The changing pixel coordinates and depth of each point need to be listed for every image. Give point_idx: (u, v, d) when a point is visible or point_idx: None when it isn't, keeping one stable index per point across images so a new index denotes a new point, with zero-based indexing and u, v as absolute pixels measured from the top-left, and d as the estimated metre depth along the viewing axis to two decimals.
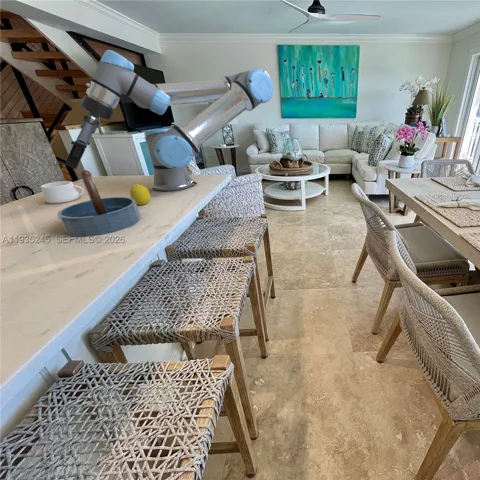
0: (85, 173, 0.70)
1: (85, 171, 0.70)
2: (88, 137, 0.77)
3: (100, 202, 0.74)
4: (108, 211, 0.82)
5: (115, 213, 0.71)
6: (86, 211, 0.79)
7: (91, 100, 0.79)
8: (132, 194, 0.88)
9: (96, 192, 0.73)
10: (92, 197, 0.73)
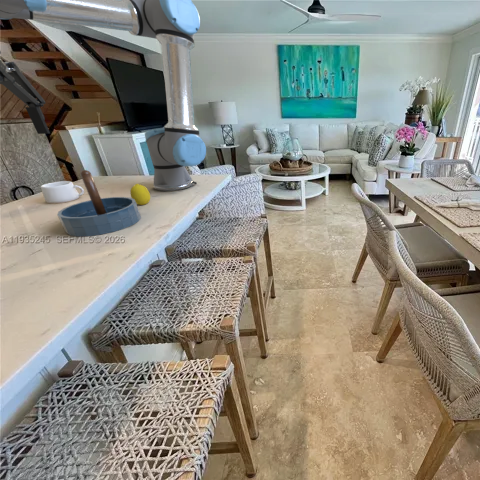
0: (85, 173, 0.70)
1: (85, 171, 0.70)
2: None
3: (100, 202, 0.74)
4: (108, 211, 0.82)
5: (115, 213, 0.71)
6: (86, 211, 0.79)
7: None
8: (132, 194, 0.88)
9: (96, 192, 0.73)
10: (92, 197, 0.73)
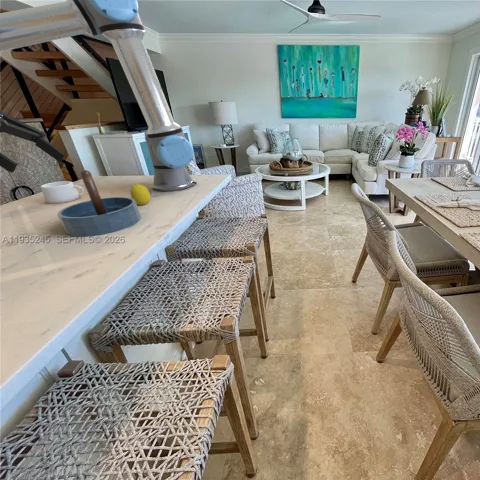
0: (85, 173, 0.70)
1: (85, 171, 0.70)
2: None
3: (100, 202, 0.74)
4: (108, 211, 0.82)
5: (115, 213, 0.71)
6: (86, 211, 0.79)
7: None
8: (132, 194, 0.88)
9: (96, 192, 0.73)
10: (92, 197, 0.73)
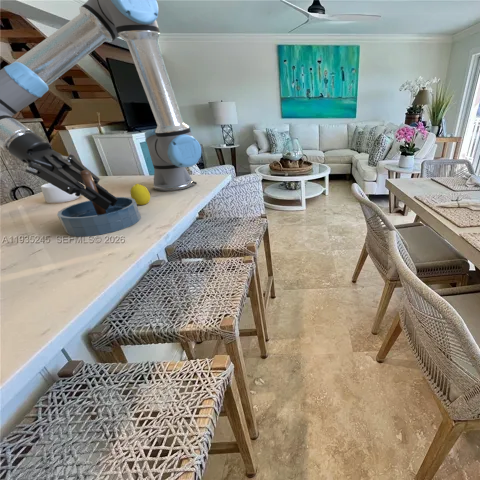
0: (85, 173, 0.70)
1: (85, 171, 0.70)
2: (60, 181, 0.67)
3: None
4: (108, 211, 0.82)
5: (115, 213, 0.71)
6: (86, 211, 0.79)
7: (10, 152, 0.65)
8: (132, 194, 0.88)
9: None
10: None
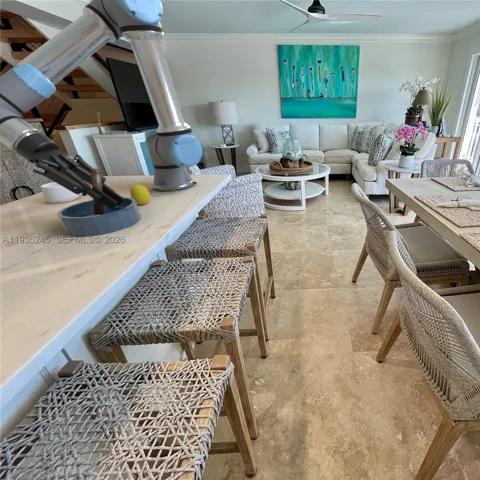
0: (96, 172, 0.70)
1: (96, 170, 0.71)
2: (67, 181, 0.67)
3: None
4: (108, 211, 0.82)
5: (115, 213, 0.71)
6: (86, 211, 0.79)
7: (17, 152, 0.65)
8: (132, 194, 0.88)
9: None
10: None
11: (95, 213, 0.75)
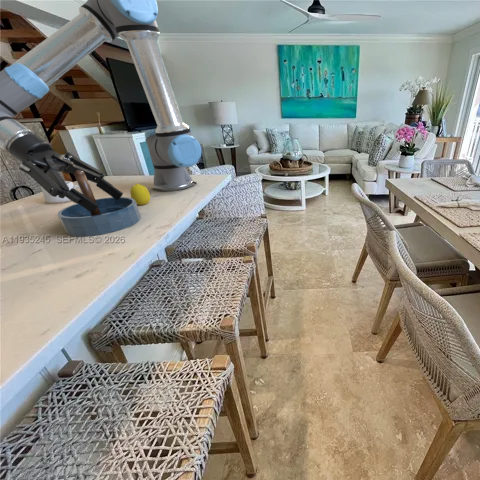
0: (77, 173, 0.70)
1: (78, 171, 0.70)
2: (45, 181, 0.64)
3: None
4: (108, 211, 0.82)
5: (115, 213, 0.71)
6: (86, 211, 0.79)
7: (10, 153, 0.65)
8: (132, 194, 0.88)
9: (89, 192, 0.73)
10: None
11: (92, 215, 0.75)
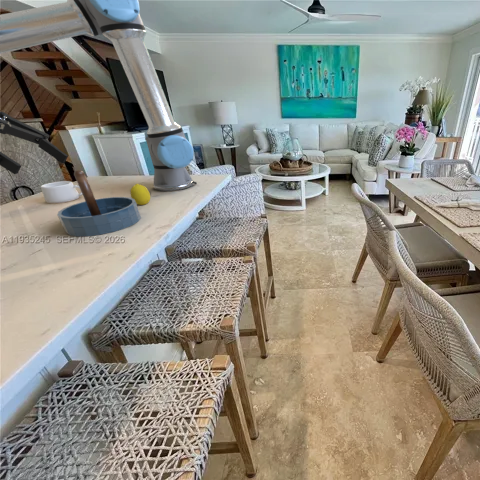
0: (77, 173, 0.70)
1: (78, 171, 0.70)
2: None
3: (93, 202, 0.74)
4: (108, 211, 0.82)
5: (115, 213, 0.71)
6: (86, 211, 0.79)
7: None
8: (132, 194, 0.88)
9: (89, 192, 0.73)
10: (85, 197, 0.73)
11: (92, 215, 0.75)
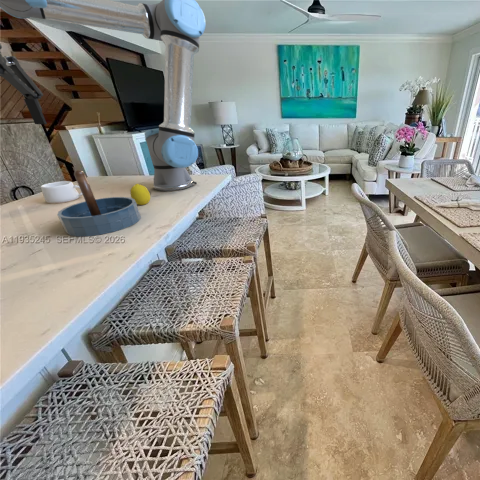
0: (77, 173, 0.70)
1: (78, 171, 0.70)
2: None
3: (93, 202, 0.74)
4: (108, 211, 0.82)
5: (115, 213, 0.71)
6: (86, 211, 0.79)
7: None
8: (132, 194, 0.88)
9: (89, 192, 0.73)
10: (85, 197, 0.73)
11: (92, 215, 0.75)
